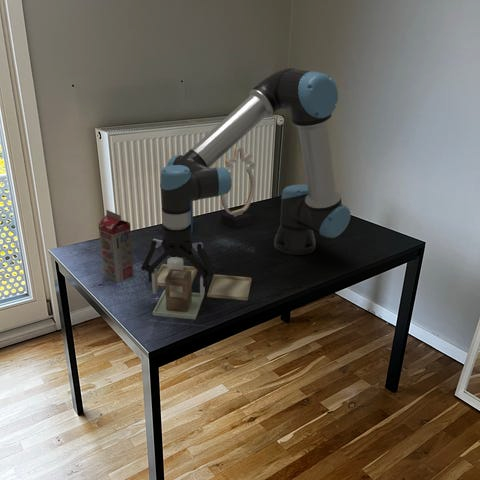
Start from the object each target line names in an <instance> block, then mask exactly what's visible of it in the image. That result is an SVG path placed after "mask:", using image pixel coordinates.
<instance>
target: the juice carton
mask: <svg viewBox="0 0 480 480" xmlns="http://www.w3.org/2000/svg"><path fill="white" fill-rule="evenodd" d="M105 211H106V215H105V216H104V217H103V218H102V219H100V220H99V222H98V233H99V242H100V244H99V245H100V252H101V262H102V272H103V273H102V274H103V278H105V279H106V280H108V281H109V280H110V281H113V282H114V283H116V284H117V283H120V282H121V281H122V282H123V281H124V280H126V279H129V278H131V277H132V276H134V274H135V273H134V272H135V271H134V258H133V244H132V234H131V223H130V222H128V221H127V220H124V219H122V216H121V215H120V214H117V213H115V212H113V211H110V210H109V209H106V210H105Z"/></svg>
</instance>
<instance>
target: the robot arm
mask: <svg viewBox="0 0 480 480" xmlns="http://www.w3.org/2000/svg"><path fill="white" fill-rule="evenodd" d="M248 93H249V94H248V95H249V97H247V98H246V99H245V100H244V101H243V102H242V103H240V104H239V105H238V106H237V107H236V108H235V109H234V110H232V111H231V112H230V113H229V114H228V115H227V116H226V117H225V118H224V119H223V120H221V121H220V123H218V124H217V125H216V126H215V127H214V128H212V129H211V131H209V132H208V133H207V134H206V135H204V137H203V138H201V139H200V140H199V141H198V142H197V143H196V144H195V145H193V147H191V148H190V149H189V150H188V151H187V152H185V153H184V154H183V155H182V154H176V155H173V156H172V157H171V158H170V159H168V162H167V165H166V166H165V167H163V168H162V169H161V171H160V177H159V178H160V181H159V182H160V183H159V187H160V200H161V223H162V240H161V239H159V238H158V237H154V238H153V239H152V240H151V243H150V244H151V245H150V249H149V250H148V253H147V255H146V257H145V259H144V262H143V263H142V265H141V267H140V269H141V271H146V272H147V276H148V277H147V278H148V282H149V283H151V286H152V289H151V290H152V295H156V294H157V292H158V290H159V286H158V279H157V272H158V269H156V268H157V267H159V266H160V264H161V263H162V262H163V261H164V260H165V259H166V258H167V257H168V256H170V258H171V257H179V258H182V259H185V260H186V261H188V262H189V263H190V264H191V265H192V267H195V268H196V269H197V270H198V272H197V273H199V274H200V277H199V293H200V298H203V297H205V293H206V292H205V291H206V290H205V288H208V285H209V277H213V276H214V275H215V273H216V269H215V267H214V265H213V263H212V262H211V259H210V257H209V256H208V254H207V251H206V249H205V246H204V242H203V241H202V240H199V241H198V242H193V240H192V233H191V225H190V223H191V201H193V202H195V201H199V200H200V201H201V200H205V199H210V198H215V197H217V198H218V197H221V195H224V194H225V195H227V194H228V193H229V192H230V191H231V189H232V182H233V181H232V180H233V179H232V176H230V173H231V172H230V171H229V170H227V169H226V168H225V167H223V166H219V167H217V166H215V167H213V168H212V166H213V165H214V164H216V162H217V161H218V160H219V159H221V157H223V156H224V155H225V154H226V153H227V152H228V151H229V150H230V149H231V148H232V147H234V146H235V145H236V144H237V143H238V142H240V140H242V138H244V137H245V136H246V135H247V134H248V133H249V132H251V130H252V129H253V128H254V127H256V126H257V125H258V124H259V123H260V122H261V121H262V120H263V119H264V118H266V117H267V118H268V117H272V116H273V115H274V114H275V113H276V112H278V111H281V110H287V111H289V112H290V118H291V119H290V120H291V123H292V125H293V126H295V127H296V128H298V135H299V140H300V148H301V155H302V159H303V166H304V167H303V168H304V171H305V179H306V184H292V185H288V186H286V187H284V189H283V190H282V194H281V198H280V199H281V204H280V225H279V228H278V229H277V232H276V234H275V237H274V240H273V246H274V248H275V250H277V251H278V252H280V253H282V254H286V255H290V256H305V255H309V254H312V253H313V252H314V251H315V250H316V237H315V234H314V233H316V234H318V235H321V236H323V237H326V238H329V239H335V238H337V237H338V236H340V235H341V234H342V233H344V231H345V230H346V228H347V227H348V224H349V223H350V220H351V210H350V208H349V207H347V205H345V204H344V205H343V203H342V195H341V193H340V191H338V190H337V189H336V184H335V177H334V168H333V160H332V151H331V142H330V134H329V126H328V122H329V121H330V119H331V118H332V113H334V111H335V110H336V107H337V106H336V104H338V101H339V91H338V87H337V85H336V82H335V80H333V78H332V77H330V76H329V75H327V74H326V73H323V72H319V71H315V70H312V71H309V70H303V69H296V68H289V67H288V68H283V69H280V70H277V71H275V72H273V73H272V74H270V75H268V76H267V77H265V78H264V79H263V80H261V81H260V82H259V83H258V84H257V85H255V86H254V87H253V88H252V89H251V90H249V92H248ZM229 172H230V173H229ZM160 246H161V247H162V248H163V249H164V251H163V252H162V253H161V254H160V255H159V256H158V257H157V258H156V259H155V260H154V261H153V262H152V264H150V262H151V260H152V258H153V256H154V254H155V252H156V250H157V249H159V247H160ZM192 249H194V250H195V251H196V252H197V254H198V256H199V258H200V259H199V258H198V257H197V256H196V255H195V253H194V251H193V250H192ZM200 260H201V261H200ZM203 299H204V298H203Z"/></svg>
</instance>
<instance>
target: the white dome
mask: <svg viewBox="0 0 480 480" xmlns="http://www.w3.org/2000/svg"><path fill="white" fill-rule="evenodd" d="M166 261H167V263H166V264H167V269H168V273H169V271H170V269H176V270H184V268H183V266H184V258H179V257H171V256H170V257H169V258H167V260H166Z"/></svg>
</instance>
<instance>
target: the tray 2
mask: <svg viewBox="0 0 480 480" xmlns="http://www.w3.org/2000/svg"><path fill="white" fill-rule="evenodd" d="M204 297H205V296H204ZM204 297H203V298H200V292H192V302H191V304H190V307H189V309H188V312H179V311H168V310H166V291H165V289H164V290H163V291H162V294H161V295H160V297H159V299H158V301H157V303H156V305H155V307H154V308H153V311H152V316H155V317H156V316H157V317H165V318H166V317H167V318H177V319H185V320H186V319H187V320H196V319H197V316H198V313H199V311H200V308H201V305H202V303H203V300H204Z"/></svg>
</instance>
